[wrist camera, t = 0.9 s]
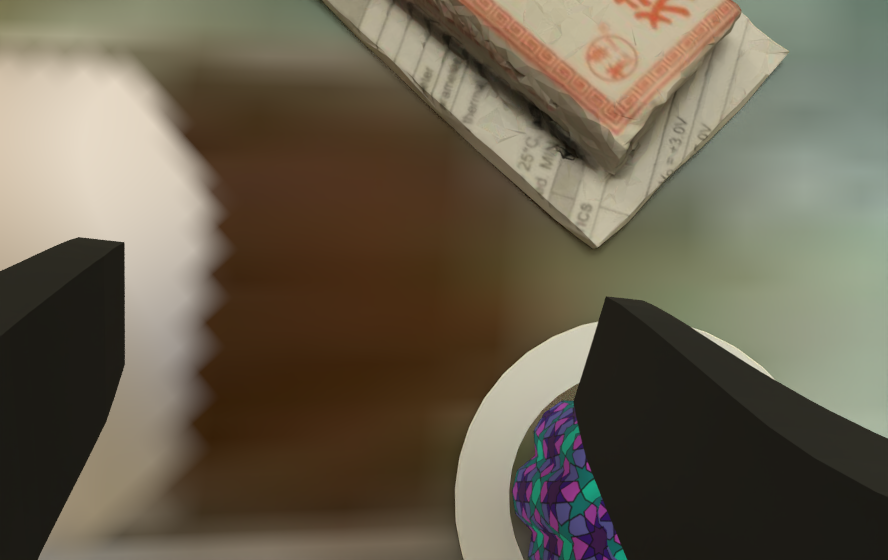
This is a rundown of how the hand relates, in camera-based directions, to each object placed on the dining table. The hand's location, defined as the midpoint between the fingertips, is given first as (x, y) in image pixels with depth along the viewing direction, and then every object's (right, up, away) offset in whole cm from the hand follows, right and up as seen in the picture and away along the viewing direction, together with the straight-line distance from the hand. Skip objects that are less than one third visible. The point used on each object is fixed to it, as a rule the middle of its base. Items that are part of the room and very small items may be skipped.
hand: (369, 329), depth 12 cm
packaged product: (+4, +11, +18) cm, 21 cm away
